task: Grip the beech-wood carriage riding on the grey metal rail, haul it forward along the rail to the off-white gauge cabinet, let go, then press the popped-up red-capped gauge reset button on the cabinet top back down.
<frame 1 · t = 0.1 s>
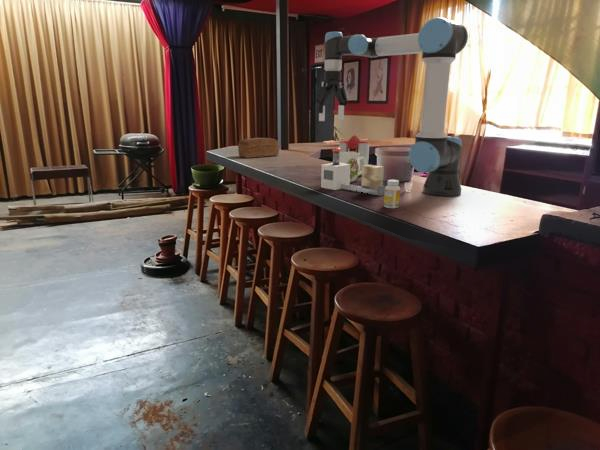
hand: (331, 120, 195), 28 cm above the bar counter, fingers open, 13 cm apart
rail: (361, 191, 181), on the bar counter
citrus juicer: (352, 175, 222), on the bar counter
carriage: (372, 177, 176), point 7 cm above the bar counter, slide at 0.0 cm
supplement bottle: (391, 207, 156), on the bar counter
gauge button: (336, 156, 186), point 13 cm above the bar counter, slide at 4.5 cm
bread: (259, 156, 291), on the bar counter
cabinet: (335, 187, 190), on the bar counter
pitcher: (349, 181, 205), on the bar counter
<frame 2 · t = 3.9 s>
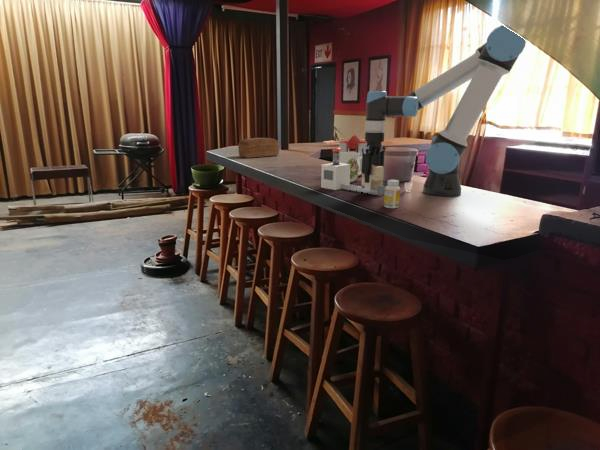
hand: (371, 189, 177), 2 cm above the bar counter, fingers closed on carriage, 5 cm apart
carriage: (372, 177, 176), point 7 cm above the bar counter, slide at 0.0 cm, touching gripper
everything else where it was.
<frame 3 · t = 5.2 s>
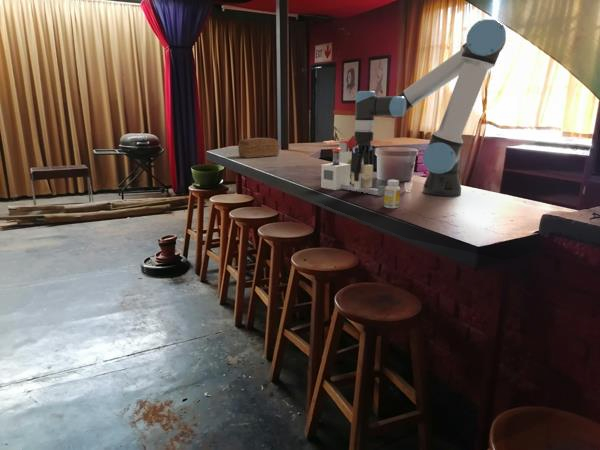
hand: (361, 187, 180), 2 cm above the bar counter, fingers closed on carriage, 5 cm apart
carriage: (362, 175, 179), point 7 cm above the bar counter, slide at 5.1 cm, touching gripper
everything else where it was.
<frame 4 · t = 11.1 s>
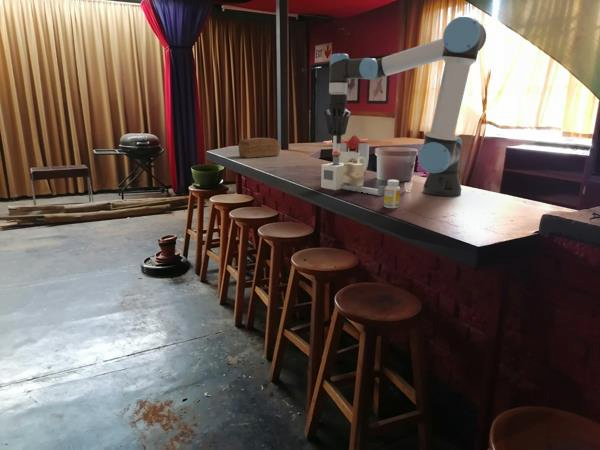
hand: (336, 151, 186), 16 cm above the bar counter, fingers closed
carriage: (353, 174, 182), point 7 cm above the bar counter, slide at 9.5 cm
gauge button: (336, 160, 187), point 12 cm above the bar counter, slide at 3.0 cm, touching gripper
everything else where it was.
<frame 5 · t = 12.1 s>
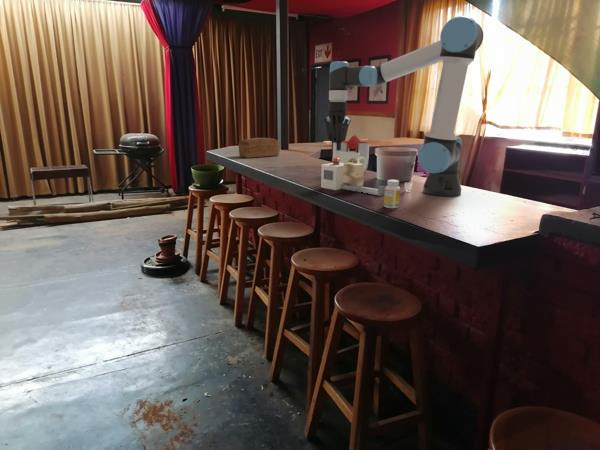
hand: (336, 157, 186), 13 cm above the bar counter, fingers closed
gauge button: (335, 166, 188), point 9 cm above the bar counter, slide at 0.1 cm, touching gripper
everything else where it was.
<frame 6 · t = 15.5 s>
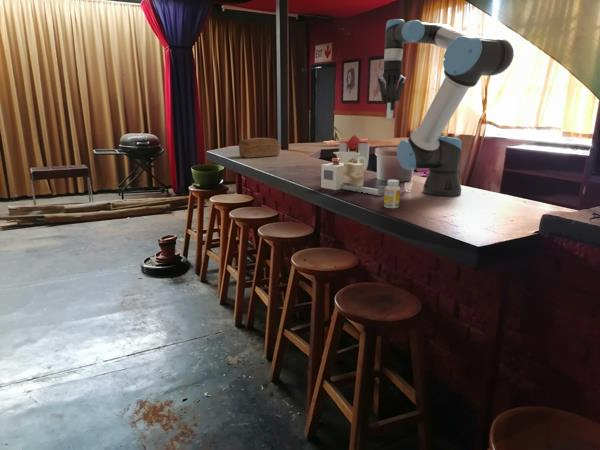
hand: (389, 118, 187), 29 cm above the bar counter, fingers closed
gauge button: (335, 166, 188), point 9 cm above the bar counter, slide at 0.1 cm
everything else where it was.
at the end: carriage slide at 9.5 cm; gauge button slide at 0.1 cm; the gripper is holding nothing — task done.
